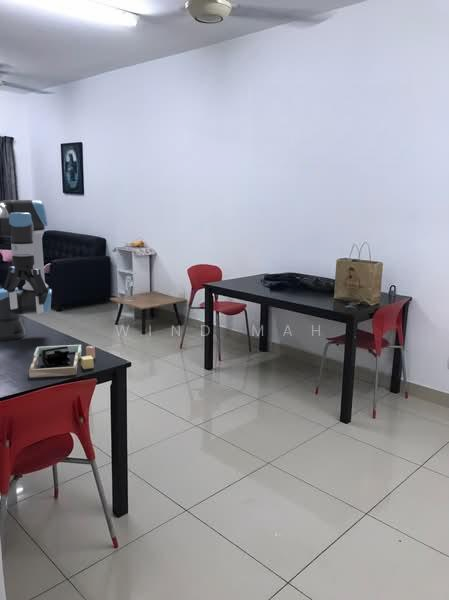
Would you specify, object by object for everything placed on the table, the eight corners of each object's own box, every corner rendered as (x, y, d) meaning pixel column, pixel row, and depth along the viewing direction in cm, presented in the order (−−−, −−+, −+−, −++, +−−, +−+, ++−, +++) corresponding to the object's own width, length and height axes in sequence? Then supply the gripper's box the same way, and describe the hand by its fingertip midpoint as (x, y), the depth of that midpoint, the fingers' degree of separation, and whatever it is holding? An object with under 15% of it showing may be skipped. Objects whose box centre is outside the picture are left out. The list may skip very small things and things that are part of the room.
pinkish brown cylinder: (86, 357, 204) (86, 345, 203) (95, 356, 205) (94, 345, 204) (86, 359, 201) (85, 348, 200) (95, 359, 202) (94, 348, 200)
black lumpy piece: (66, 359, 201) (65, 344, 200) (71, 364, 195) (70, 348, 194) (41, 363, 195) (40, 348, 194) (46, 369, 190) (45, 353, 188)
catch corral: (37, 353, 207) (36, 346, 206) (81, 350, 211) (81, 344, 211) (33, 361, 197) (33, 355, 196) (80, 359, 201) (80, 352, 201)
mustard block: (81, 366, 194) (81, 356, 193) (91, 364, 196) (90, 355, 195) (83, 369, 191) (83, 360, 190) (93, 367, 192) (93, 358, 192)
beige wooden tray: (35, 361, 197) (35, 354, 196) (78, 359, 201) (78, 352, 201) (29, 377, 181) (28, 370, 180) (76, 374, 185) (75, 367, 184)
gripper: (-10, 253, 177) (-5, 308, 182) (40, 258, 167) (44, 316, 171) (7, 251, 184) (11, 305, 188) (56, 256, 174) (59, 312, 178)
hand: (27, 310), depth 180 cm, fingers open, 13 cm apart
